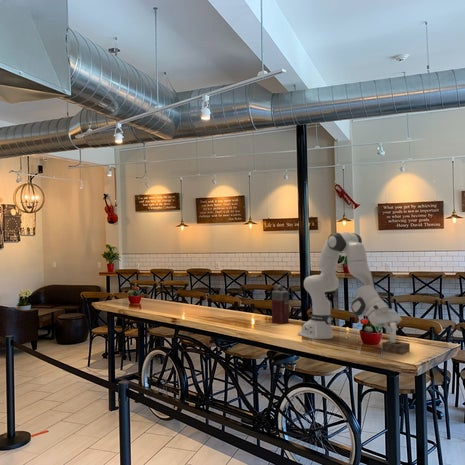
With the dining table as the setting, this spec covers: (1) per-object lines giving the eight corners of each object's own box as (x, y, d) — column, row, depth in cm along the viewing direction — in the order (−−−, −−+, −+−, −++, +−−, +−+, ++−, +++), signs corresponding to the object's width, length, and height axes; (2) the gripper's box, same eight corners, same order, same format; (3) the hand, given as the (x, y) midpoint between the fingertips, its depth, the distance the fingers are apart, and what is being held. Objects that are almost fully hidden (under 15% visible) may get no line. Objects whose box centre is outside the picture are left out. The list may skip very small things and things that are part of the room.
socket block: (382, 350, 246) (382, 342, 246) (390, 348, 253) (390, 340, 253) (401, 354, 238) (401, 346, 238) (409, 351, 245) (409, 343, 245)
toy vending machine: (284, 324, 322) (284, 285, 322) (271, 322, 329) (271, 284, 330) (291, 323, 328) (291, 284, 329) (278, 321, 336) (278, 283, 336)
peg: (388, 341, 236) (388, 322, 236) (391, 340, 238) (391, 322, 238) (393, 342, 234) (394, 323, 234) (396, 342, 236) (397, 323, 236)
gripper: (388, 311, 251) (402, 332, 243) (363, 314, 240) (377, 336, 232) (394, 304, 248) (410, 325, 239) (369, 307, 237) (384, 329, 228)
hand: (393, 331), depth 236 cm, fingers closed on peg, 3 cm apart
